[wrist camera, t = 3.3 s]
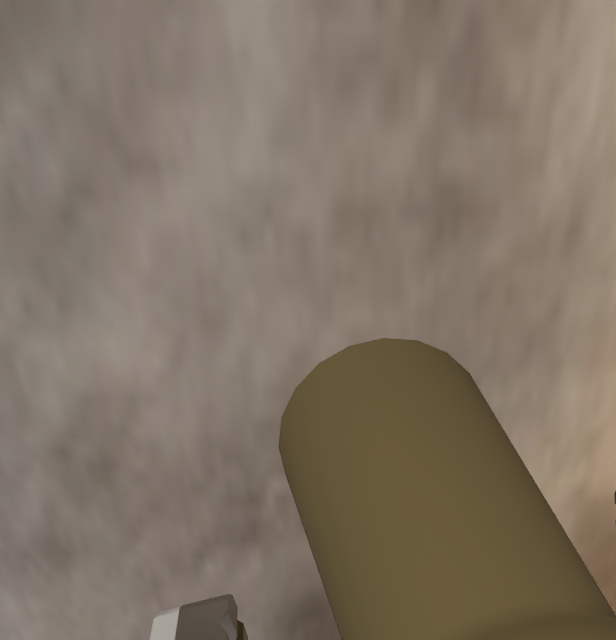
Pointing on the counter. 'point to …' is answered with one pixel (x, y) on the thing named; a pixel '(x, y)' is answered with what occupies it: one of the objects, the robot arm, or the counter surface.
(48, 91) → the counter surface
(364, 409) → the olive pawn figure
